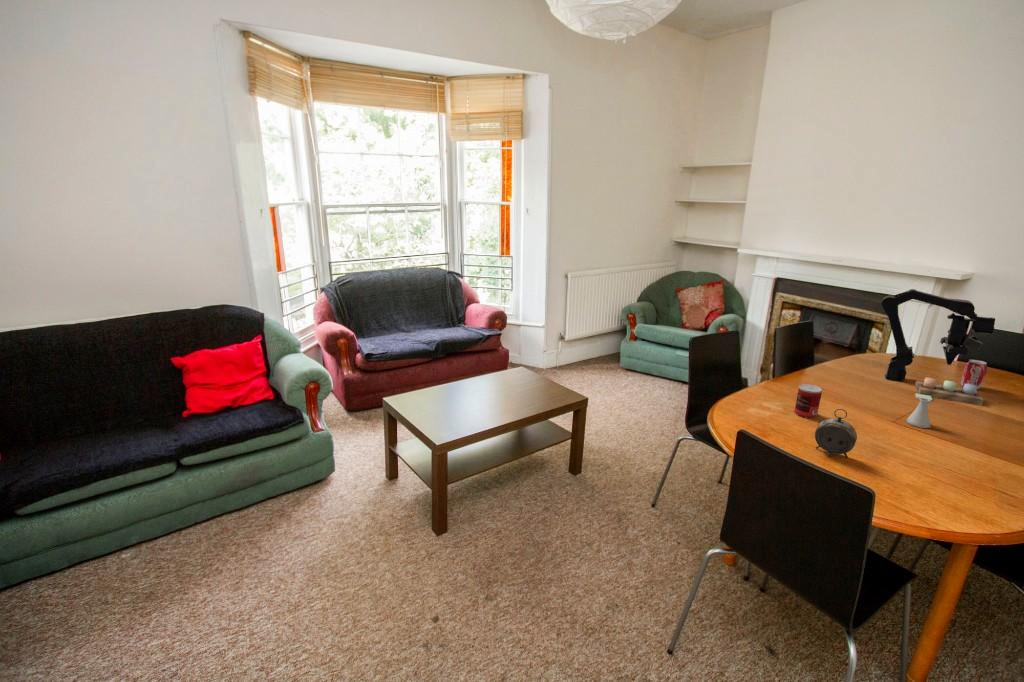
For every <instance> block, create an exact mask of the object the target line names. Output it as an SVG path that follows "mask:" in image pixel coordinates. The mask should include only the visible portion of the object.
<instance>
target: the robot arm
mask: <svg viewBox="0 0 1024 682" xmlns="http://www.w3.org/2000/svg"><path fill="white" fill-rule="evenodd" d="M911 300H914V301H919V302H922V303H926V304H930V305H934V306H938V307H941V308H945V309H947V310H949V311H951V312H952V313H951V314H949V315H947V319H949V320H951V324H950V328H949V329H948V330H947V333H948V334H947V337H946V336H943V337H941V338H940V342H939V343H940V344H941V345H943V344H945V345H943V346H942V349H943V353H944V357H945V361H946V364H947V365H948V366H951V365H952V364H953V363H954V361H955V360H956V357H958V356H959V355H961V356H968V355H969V353H970V351H969V349H968V348H967V347H970V348H972V349H974V350H976V351H979V350H980V348H981V347H983V345H984V343H983V342H981V341H980V340H978V337H977V336H975V335H971V336H970V335H969V334H968V330H969V327H970V330H972V332H973V333H977V334H985V335H993V333H994V329H995V324H996V323H995V322H996V318H995V317H991V316H990V317H984V316H978V313H976V312H975V309H976V308H975V306H974V304H973V302H972V301H970V300H966V299H958V298H949V297H948V298H947V297H944V296H940V295H935V294H932V293H927V292H925V291H924V292H923V291H920V290H917V289H915V288H912V289H909V290H906V291H903V292H901V293H898V294H897V293H896V294H894V295H890V294H889V295H886V296H885V297H883V299H882V300H881V307H882V309H883V311H884V312H885V314H886V316H887V317H888V320H889V325H890V328H891V332H892V336H893V339H894V344H895V347H896V348H895V351H896V353H895V355H896V356H892V357H891V358H890V360H889V363H888V364H887V367H886V371H885V372H886V373H885V374H884V377H885V380H889V381H894V382H895V381H896V382H900V383H903V382H904V381H905V379H906V375H907V369H906V367H907V366H910V365H912V363H913V361H914V359H915V353H914V352H913V346H908V344H907V341H906V338H905V335H904V334H905V333H904V331H903V327H902V322H901V320H900V315H899V306H900V305H901V304H904V303H906V302H909V301H911ZM965 316H966V317H965ZM967 317H968V318H967Z"/></svg>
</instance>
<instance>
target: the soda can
mask: <svg viewBox="0 0 1024 682" xmlns="http://www.w3.org/2000/svg"><path fill="white" fill-rule="evenodd" d="M987 364H988V363H987V362H986V361H983V360H978V359H968V362H966V363H965V366H964V370H963V373H962V376H961V381H960V385H962V388H963V387H964V384H973V385H976V386H977V390H979V389H981V388H982V387H983V385H984V381H985V379H986V374H987V371H988V365H987Z"/></svg>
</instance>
